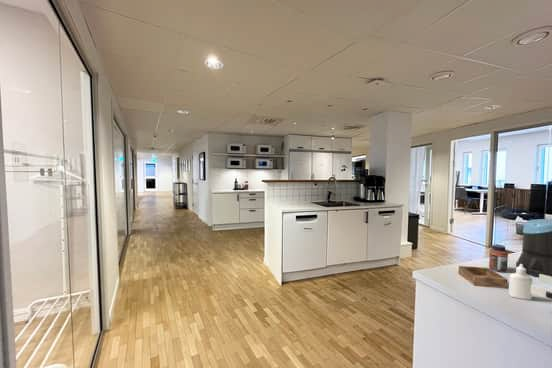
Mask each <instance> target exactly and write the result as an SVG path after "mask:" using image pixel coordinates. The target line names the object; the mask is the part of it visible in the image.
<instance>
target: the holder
mask: <svg viewBox="0 0 552 368" xmlns="http://www.w3.org/2000/svg"><path fill="white" fill-rule="evenodd" d="M457 272H458V275H460V276H461V277H462V278H464V279H465V280H466V281H467V280H468V281H467V282H469V284H470V283H471V285H473V286H475V287H485V288H486V287H487V288H499V289H500V288H501V289H508V285H509V279H508V278H507V277H505V276H503V275H501V274H499V272H497V271H494V270H492V269H490V268H489V267H484V266H483V267H482V266H467V265H466V266H465V265H458V271H457Z"/></svg>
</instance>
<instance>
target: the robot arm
mask: <svg viewBox="0 0 552 368" xmlns="http://www.w3.org/2000/svg"><path fill="white" fill-rule="evenodd" d="M520 264H523V267H524V268H525V269H526V275H528V276H532V277H536V278H538V282H539V283H542V284H545V285H546V284H547V285H549V286H552V219H548V218H546V219H543V218H542V219H541V218H539V219H538V218H537V219H529V220H526V221H525V222H524V224H523V229H522V249H521V254H520V256H519V257H518V259H517V261H516V262H515V268H516V267H519V265H520ZM530 293H531V294H532V295H536V296H538V297H542V298H546V299H549V300H552V289H550V288H546V287H543V286H539V285H535V284H533V283H532V284H531V291H530Z"/></svg>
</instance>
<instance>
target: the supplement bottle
mask: <svg viewBox="0 0 552 368" xmlns="http://www.w3.org/2000/svg"><path fill="white" fill-rule="evenodd" d="M508 258H509V253H508V251H507V250H506V246H505V245H502V244H497V243H495V244H492V248H490V250H489V261H488V268H489V269H491V270H493V271H494V272H496V273H507V272H508V261H509V260H508Z"/></svg>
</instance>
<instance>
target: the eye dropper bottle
mask: <svg viewBox="0 0 552 368" xmlns="http://www.w3.org/2000/svg"><path fill="white" fill-rule="evenodd" d="M531 284H532V285H533V278H532V277H530V275H528V274H526V269H525V268H524V267H523V264H520V265H519V267H516V266H515V272H514V273H510V274H509V279H508V295H509V296H510V297H512V298H514V299H518V300H523V301H530V300H532V297H533V296H532V295H533V294H531V293H530V291H531Z"/></svg>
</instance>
